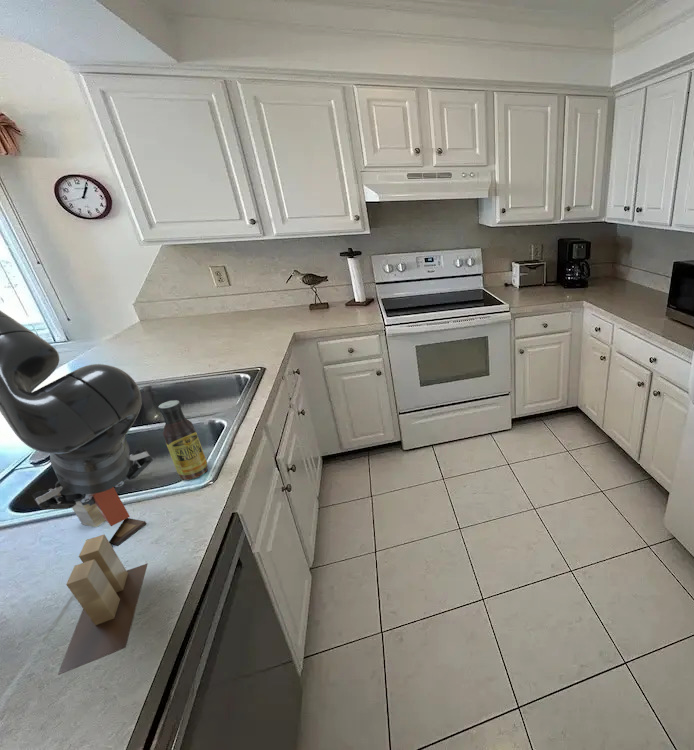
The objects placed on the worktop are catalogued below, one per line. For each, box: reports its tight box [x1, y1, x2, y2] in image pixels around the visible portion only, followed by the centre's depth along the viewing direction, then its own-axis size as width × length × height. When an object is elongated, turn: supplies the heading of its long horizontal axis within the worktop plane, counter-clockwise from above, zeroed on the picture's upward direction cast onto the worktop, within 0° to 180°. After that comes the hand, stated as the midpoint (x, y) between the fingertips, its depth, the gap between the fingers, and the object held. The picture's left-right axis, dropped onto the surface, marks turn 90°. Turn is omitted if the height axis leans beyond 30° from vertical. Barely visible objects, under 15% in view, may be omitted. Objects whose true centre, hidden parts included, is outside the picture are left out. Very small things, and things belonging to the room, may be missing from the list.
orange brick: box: [93, 487, 131, 527], centre depth 66 cm, size 3×4×10 cm, turn 56°
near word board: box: [57, 534, 148, 676], centre depth 67 cm, size 8×18×11 cm, turn 29°
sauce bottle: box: [158, 399, 209, 481], centre depth 99 cm, size 6×6×20 cm
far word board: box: [71, 501, 147, 547], centre depth 85 cm, size 6×12×11 cm, turn 77°
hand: (101, 494), depth 68 cm, fingers closed on orange brick, 2 cm apart
